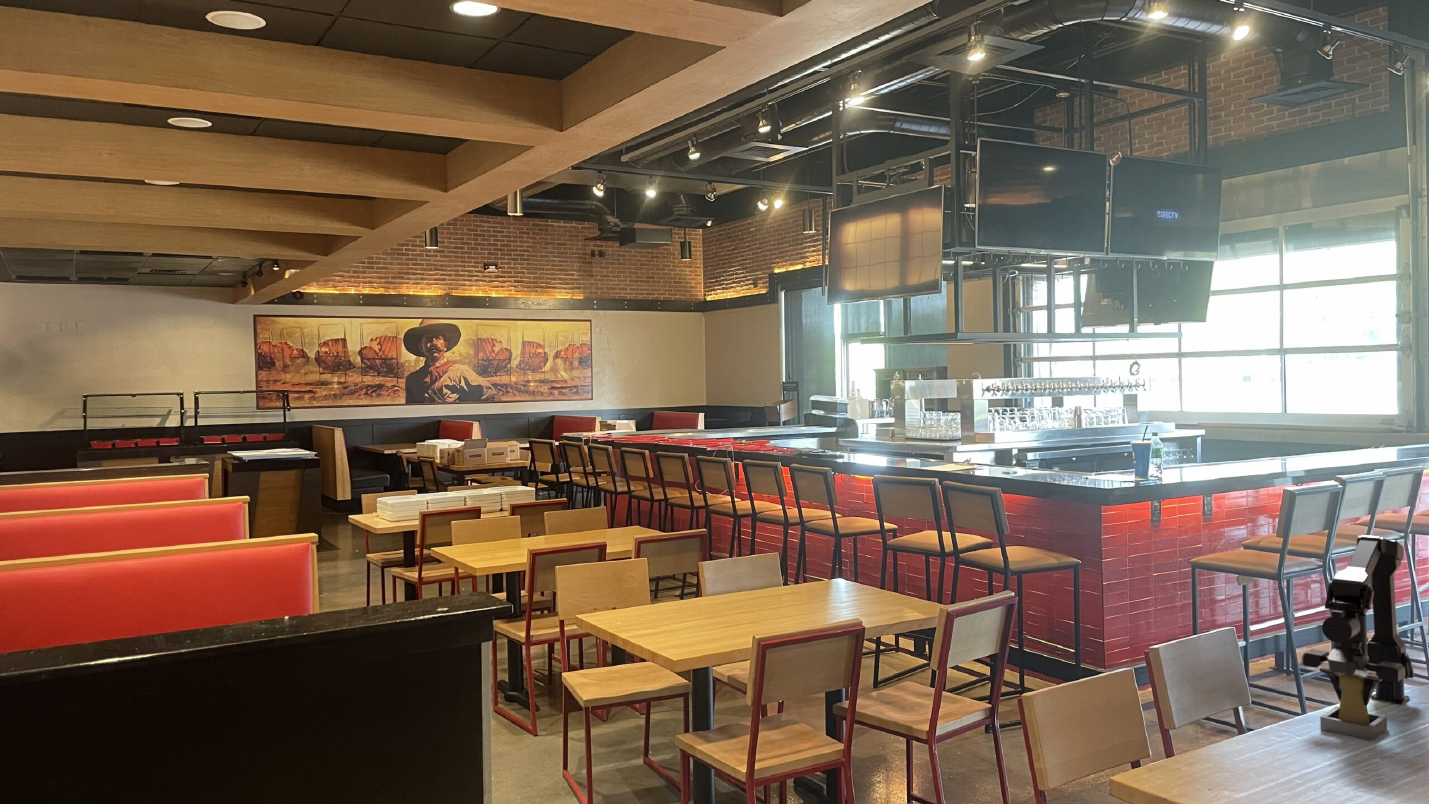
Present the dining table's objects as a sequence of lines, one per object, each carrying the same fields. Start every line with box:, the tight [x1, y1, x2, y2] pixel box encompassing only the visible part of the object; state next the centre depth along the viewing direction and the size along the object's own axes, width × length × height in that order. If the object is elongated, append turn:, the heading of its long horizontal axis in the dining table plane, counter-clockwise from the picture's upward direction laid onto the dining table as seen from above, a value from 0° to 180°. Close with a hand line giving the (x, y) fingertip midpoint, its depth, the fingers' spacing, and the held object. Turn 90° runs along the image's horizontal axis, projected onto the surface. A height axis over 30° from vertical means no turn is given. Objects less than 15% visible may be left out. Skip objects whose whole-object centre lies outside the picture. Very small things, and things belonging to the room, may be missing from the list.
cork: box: [1338, 672, 1370, 725], centre depth 217 cm, size 6×6×11 cm
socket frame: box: [1319, 705, 1388, 742], centre depth 217 cm, size 10×10×3 cm
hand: (1353, 702), depth 217 cm, fingers closed on cork, 4 cm apart
